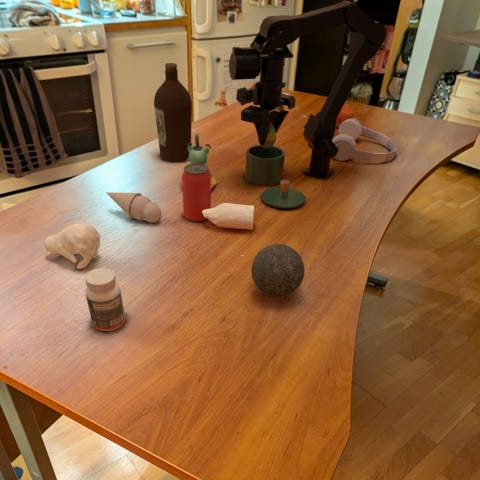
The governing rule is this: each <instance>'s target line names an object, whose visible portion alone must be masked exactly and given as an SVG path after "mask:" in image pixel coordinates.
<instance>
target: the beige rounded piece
mask: <svg viewBox="0 0 480 480" xmlns="http://www.w3.org/2000/svg"><path fill="white" fill-rule="evenodd" d="M100 246H101V234H100V233H99V232H98V230H97V228H96V227H95V226H93V225H89V224H87V223H81V222H75V223H72V224H70V225H68V226H66V227H65V228H63V229H62V230H61V231H60V232H59V233H57V234H56V235H55V234H53V235H49V236H47V237H46V239H45V240H44V248H45V250H46V251H47V252H48V253H49V254H50V256H51V257H52V258H53V259H56V257H57V256H58V257H60V256H62V257H64V258H66V259H67V260H69V261H71V262H72V263H77V260H78V259H77V257H76V256H75V255H78V254H79V255H81V257H83V259H81V260H80V261H79V262H78V264H77V265H76V268H77V269H78V270H82V269H83V268H85V267H87V266H88V265H89V264H90V262H91V260H93V259H95V258H97V256H98V255H99V251H100V250H99V249H100Z"/></svg>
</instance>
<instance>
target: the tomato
mask: <svg viewBox="0 0 480 480" xmlns="http://www.w3.org/2000/svg"><path fill="white" fill-rule="evenodd" d="M351 118H354V108H353V106H352V105H351V104H349V103H348V102H345V104H344V106H343V107H342V109H341V111H340V113H339V115H338V117H337V120H336V128H337V129H339V126H340V124H341V123H342V122H344V121H345V120H347V119H351Z"/></svg>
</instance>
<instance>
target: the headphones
mask: <svg viewBox="0 0 480 480" xmlns="http://www.w3.org/2000/svg"><path fill="white" fill-rule="evenodd" d="M337 130H338V131H337V132H338V135H335V136H334V137H333V140H332V141H333V143H334V144H335V145H336V146H337V148H338V149H339V150H338V152H337V154H336V156H335V157H333V158H334V159H335V160H337V161H339V162H344V161H347V160H350V159H351V160H358V161H363V162H367V163H368V162H370V163H385V162H390V161H392V160H393V159H394V158H395V156H396V153H397V150H398V145H397V143H396V141H394V140H393V139H392V138H390V137H388V136H386V135H385V134H383V133H381V132H380V131H377V130H374V129H372V128H369V127H365V126H364V125H363V124H362V123H361V121H360V120H358V119H357V118H354V117H353V118H351V119H347V120H345V121H344V122H342V123H341V124H340V126H339V128H338V129H337ZM360 137H364V138H367V139H369V140H372V141H375V142H376V143H379V144H381V145H383V146H384V147H385V148H386V149H388V150H389V151H388V152H373V151H371V152H370V151H364V150H362V149H361V150H360V149H358V148H357V144H356V141H357V140H358V139H359V138H360Z"/></svg>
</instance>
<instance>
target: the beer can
mask: <svg viewBox="0 0 480 480" xmlns="http://www.w3.org/2000/svg"><path fill="white" fill-rule="evenodd" d="M208 169H209V166H208V167H207V166H206V164H205V165H203V164H198V163H194V164H191V163H188V164H186V165H185V166H184V167H183V172H182V176H181V183H182V185H181V187H182V209H183V216H184V217H185V218H186V219H187V220H188V221H192V222H204V221H206V220H208V219H207V218H205V217H204V216H203V214H202V211H203V210H205V209H210V208H212V188H211V176H212V175H211V173H209V171H210V170H209V171H208Z"/></svg>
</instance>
